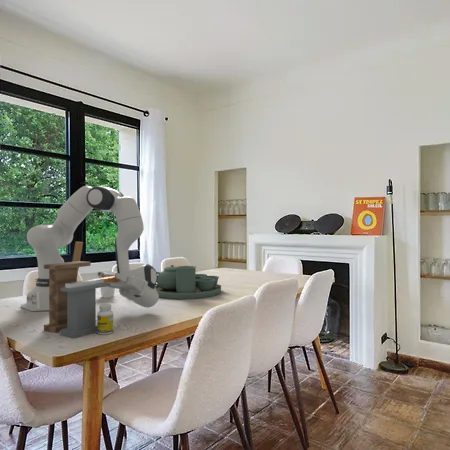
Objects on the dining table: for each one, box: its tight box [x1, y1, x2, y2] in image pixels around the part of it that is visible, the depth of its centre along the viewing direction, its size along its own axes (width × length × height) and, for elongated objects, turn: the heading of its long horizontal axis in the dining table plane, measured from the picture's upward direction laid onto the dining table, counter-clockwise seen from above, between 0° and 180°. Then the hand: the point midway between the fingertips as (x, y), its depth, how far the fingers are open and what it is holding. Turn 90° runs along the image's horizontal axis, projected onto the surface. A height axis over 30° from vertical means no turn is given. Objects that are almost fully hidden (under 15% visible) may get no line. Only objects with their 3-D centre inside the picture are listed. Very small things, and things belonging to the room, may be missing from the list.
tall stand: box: [43, 260, 92, 334], centre depth 135 cm, size 7×15×24 cm, turn 150°
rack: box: [59, 283, 110, 339], centre depth 129 cm, size 7×16×16 cm, turn 150°
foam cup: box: [100, 271, 117, 299], centre depth 195 cm, size 10×9×13 cm
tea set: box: [156, 264, 222, 300], centre depth 206 cm, size 40×40×16 cm
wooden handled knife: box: [65, 275, 125, 289], centre depth 134 cm, size 3×25×2 cm, turn 150°
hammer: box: [71, 241, 84, 276], centre depth 211 cm, size 20×5×30 cm, turn 82°
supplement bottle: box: [96, 303, 114, 336], centre depth 127 cm, size 5×5×10 cm
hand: (107, 274), depth 138 cm, fingers open, 8 cm apart
